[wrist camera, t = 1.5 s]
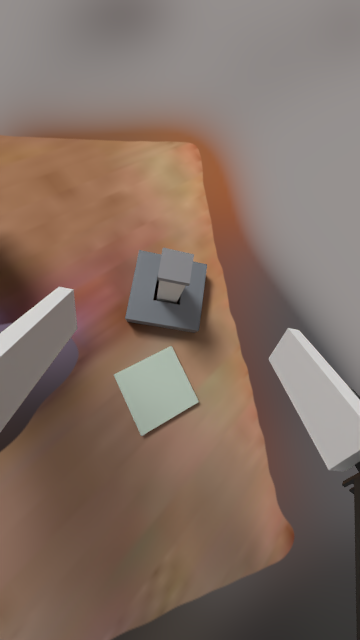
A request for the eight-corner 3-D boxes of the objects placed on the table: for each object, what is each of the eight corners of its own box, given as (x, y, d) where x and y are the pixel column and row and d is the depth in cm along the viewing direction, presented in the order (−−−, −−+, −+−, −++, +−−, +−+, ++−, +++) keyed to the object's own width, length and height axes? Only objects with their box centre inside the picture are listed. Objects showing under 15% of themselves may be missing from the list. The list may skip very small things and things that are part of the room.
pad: (114, 374, 37) (113, 374, 36) (170, 346, 39) (171, 345, 38) (141, 433, 36) (141, 436, 35) (197, 400, 38) (198, 401, 37)
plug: (154, 303, 40) (157, 277, 27) (158, 283, 41) (162, 247, 28) (175, 307, 41) (189, 283, 27) (179, 287, 42) (193, 254, 28)
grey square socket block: (127, 321, 39) (125, 318, 36) (140, 258, 42) (139, 250, 38) (194, 332, 41) (198, 330, 37) (202, 271, 44) (207, 264, 40)
